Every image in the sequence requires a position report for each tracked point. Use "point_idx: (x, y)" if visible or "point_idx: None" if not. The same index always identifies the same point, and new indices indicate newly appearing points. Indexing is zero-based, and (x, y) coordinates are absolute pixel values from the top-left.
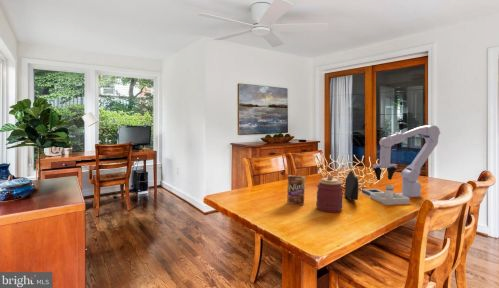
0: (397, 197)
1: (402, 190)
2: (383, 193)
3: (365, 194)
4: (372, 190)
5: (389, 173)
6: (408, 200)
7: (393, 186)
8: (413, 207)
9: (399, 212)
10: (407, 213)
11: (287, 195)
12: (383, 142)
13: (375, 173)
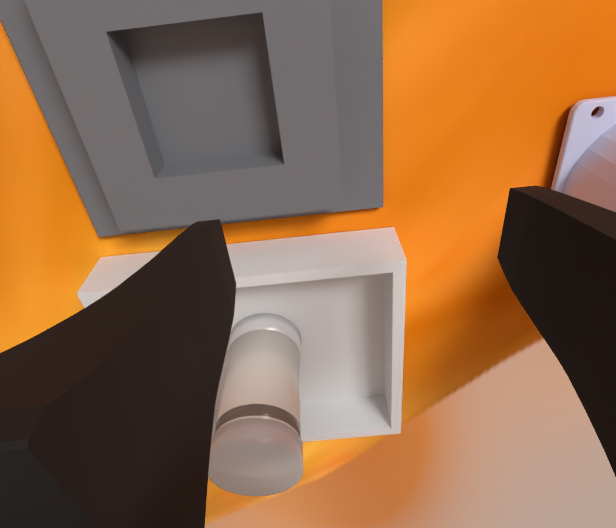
0: (385, 306)
1: (604, 191)
2: (256, 281)
3: (69, 140)
4: (209, 16)
5: (598, 305)
6: (384, 417)
7: (287, 487)
8: (355, 447)
9: (208, 498)
10: (245, 507)
11: None
12: None
13: (101, 302)
